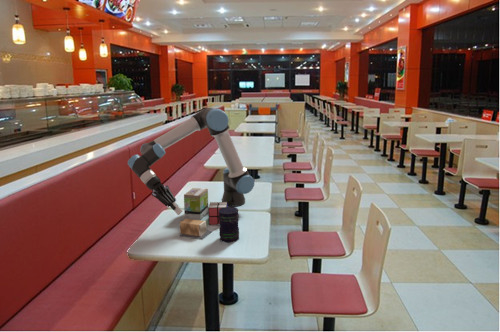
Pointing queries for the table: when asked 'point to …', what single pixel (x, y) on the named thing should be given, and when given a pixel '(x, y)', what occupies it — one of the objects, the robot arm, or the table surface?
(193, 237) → the mat
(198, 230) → the oak block
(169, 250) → the table surface
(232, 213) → the storage jar
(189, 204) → the tea box
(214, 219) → the puzzle cube
